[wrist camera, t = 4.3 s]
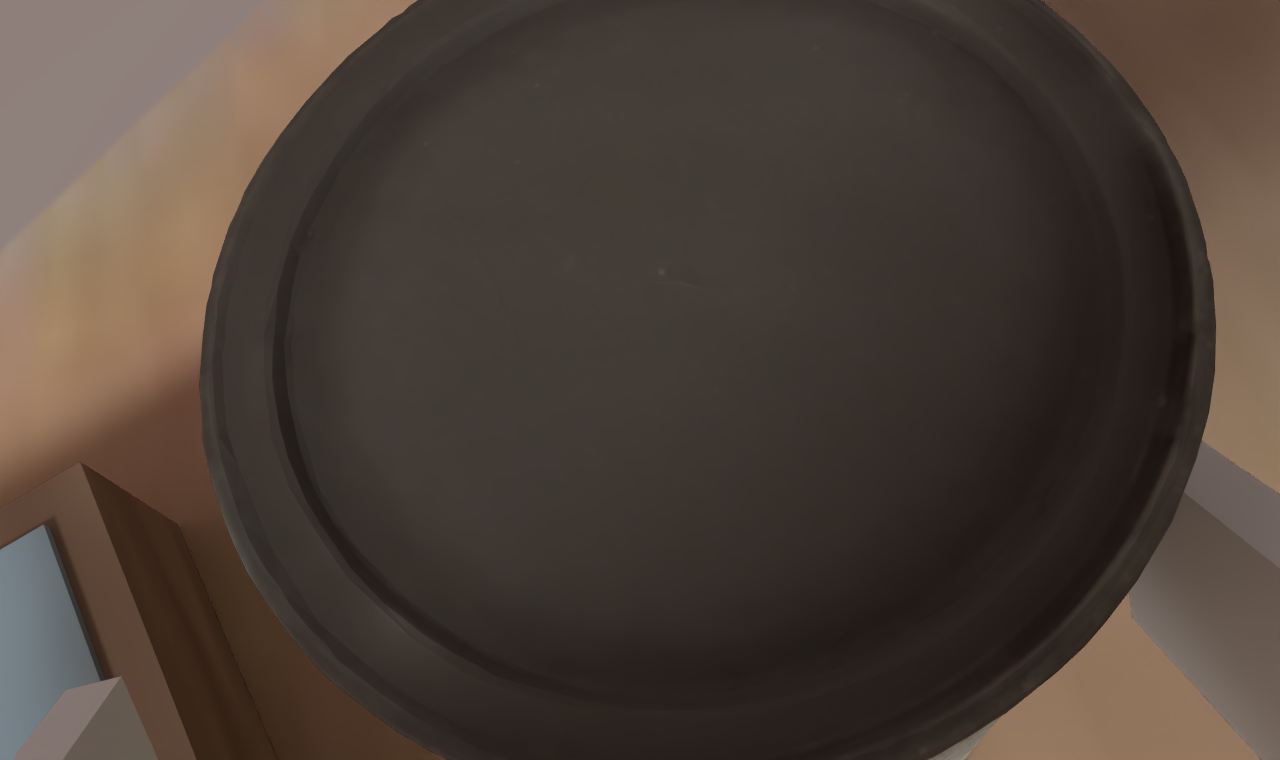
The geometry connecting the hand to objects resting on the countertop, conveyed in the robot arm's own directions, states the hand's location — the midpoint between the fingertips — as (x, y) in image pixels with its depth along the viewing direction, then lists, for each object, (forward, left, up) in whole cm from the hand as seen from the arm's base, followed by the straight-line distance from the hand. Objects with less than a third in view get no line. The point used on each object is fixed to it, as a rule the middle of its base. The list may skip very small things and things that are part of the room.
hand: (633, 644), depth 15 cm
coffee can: (-2, -2, -9) cm, 10 cm away
